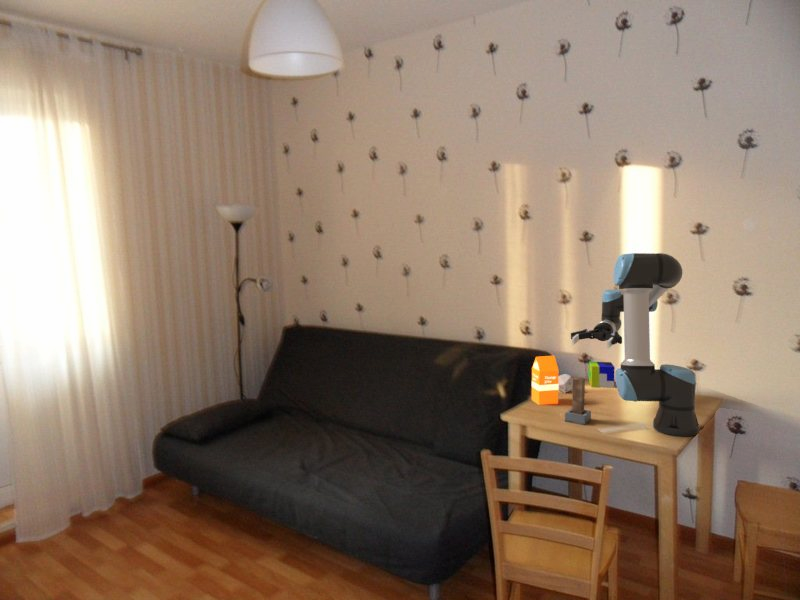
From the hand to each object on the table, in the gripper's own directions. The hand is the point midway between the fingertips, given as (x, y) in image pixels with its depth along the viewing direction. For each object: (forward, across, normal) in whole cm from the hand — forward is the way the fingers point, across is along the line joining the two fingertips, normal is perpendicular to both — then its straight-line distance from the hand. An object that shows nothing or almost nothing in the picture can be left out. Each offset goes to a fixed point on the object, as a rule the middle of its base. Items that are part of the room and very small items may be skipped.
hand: (590, 342), depth 221 cm
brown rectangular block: (+12, +1, -28) cm, 30 cm away
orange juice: (-5, +21, -30) cm, 37 cm away
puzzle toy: (-45, +7, -33) cm, 56 cm away
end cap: (+12, +1, -28) cm, 31 cm away
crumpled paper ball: (-25, +18, -31) cm, 44 cm away
